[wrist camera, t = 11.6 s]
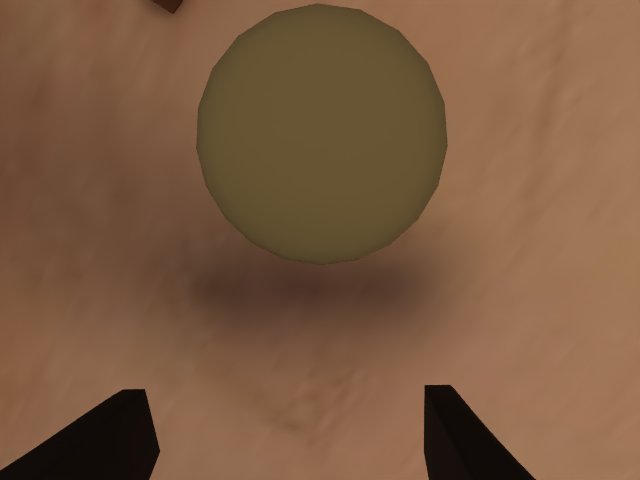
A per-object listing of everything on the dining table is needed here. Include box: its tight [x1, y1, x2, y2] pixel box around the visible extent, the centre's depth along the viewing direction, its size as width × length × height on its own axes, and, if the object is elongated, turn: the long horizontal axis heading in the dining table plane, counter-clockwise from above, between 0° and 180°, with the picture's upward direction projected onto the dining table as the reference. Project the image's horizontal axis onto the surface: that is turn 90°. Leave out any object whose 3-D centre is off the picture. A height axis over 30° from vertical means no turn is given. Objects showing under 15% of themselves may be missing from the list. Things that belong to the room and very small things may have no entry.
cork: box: [196, 4, 448, 265], centre depth 12 cm, size 6×6×11 cm
